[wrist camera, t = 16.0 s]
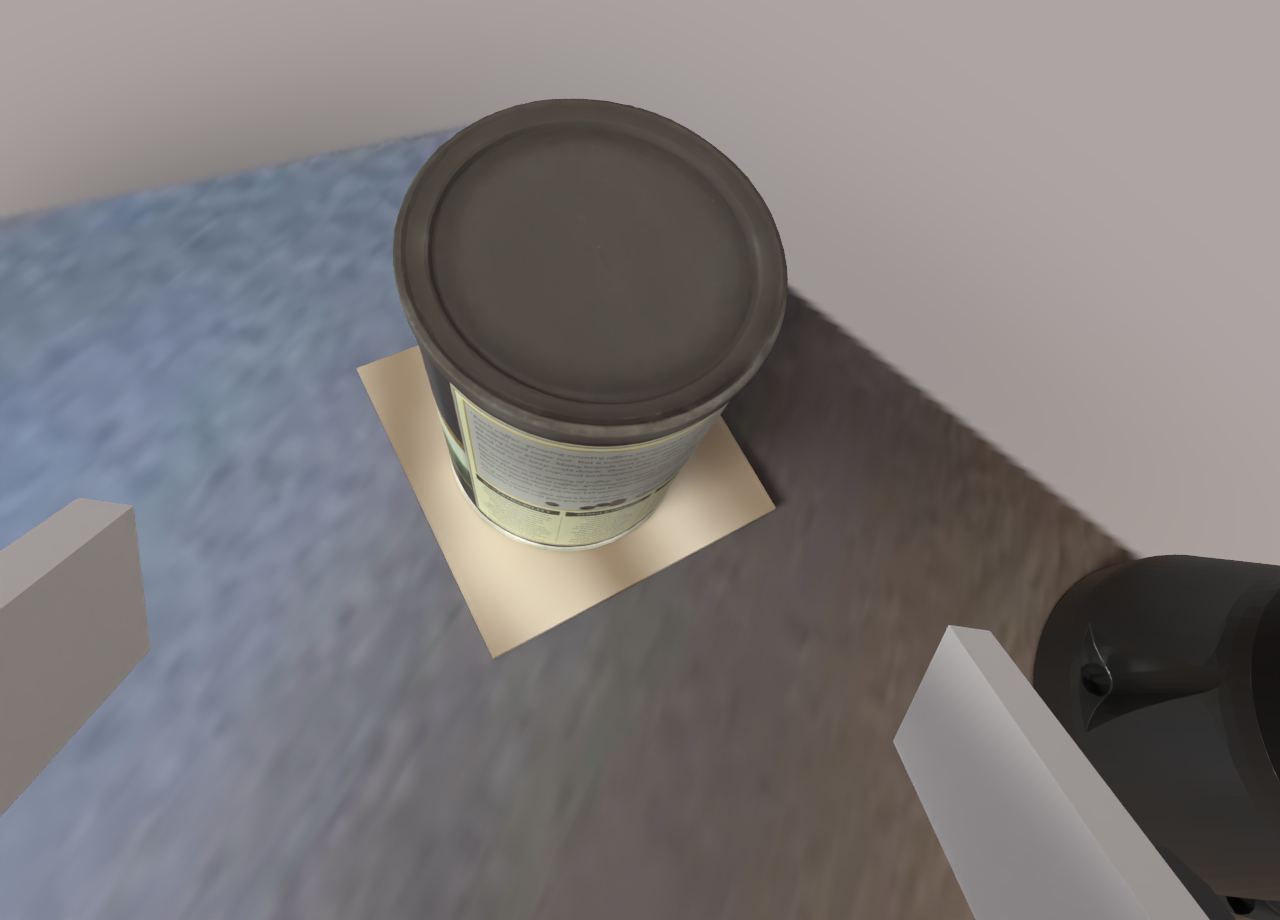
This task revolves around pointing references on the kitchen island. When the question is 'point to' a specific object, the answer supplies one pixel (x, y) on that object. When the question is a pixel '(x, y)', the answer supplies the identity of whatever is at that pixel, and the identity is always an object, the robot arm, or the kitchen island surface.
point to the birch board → (542, 579)
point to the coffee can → (583, 309)
